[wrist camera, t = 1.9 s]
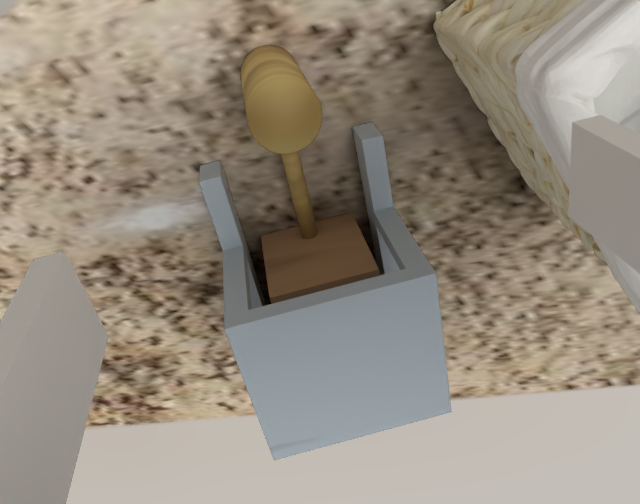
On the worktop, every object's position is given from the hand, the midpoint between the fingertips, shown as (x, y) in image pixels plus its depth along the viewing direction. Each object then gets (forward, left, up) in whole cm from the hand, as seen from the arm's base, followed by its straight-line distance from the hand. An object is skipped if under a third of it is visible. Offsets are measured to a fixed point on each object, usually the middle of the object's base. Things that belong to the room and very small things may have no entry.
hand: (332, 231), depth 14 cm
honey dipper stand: (-7, 0, -19) cm, 20 cm away
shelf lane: (-11, 0, -19) cm, 22 cm away
